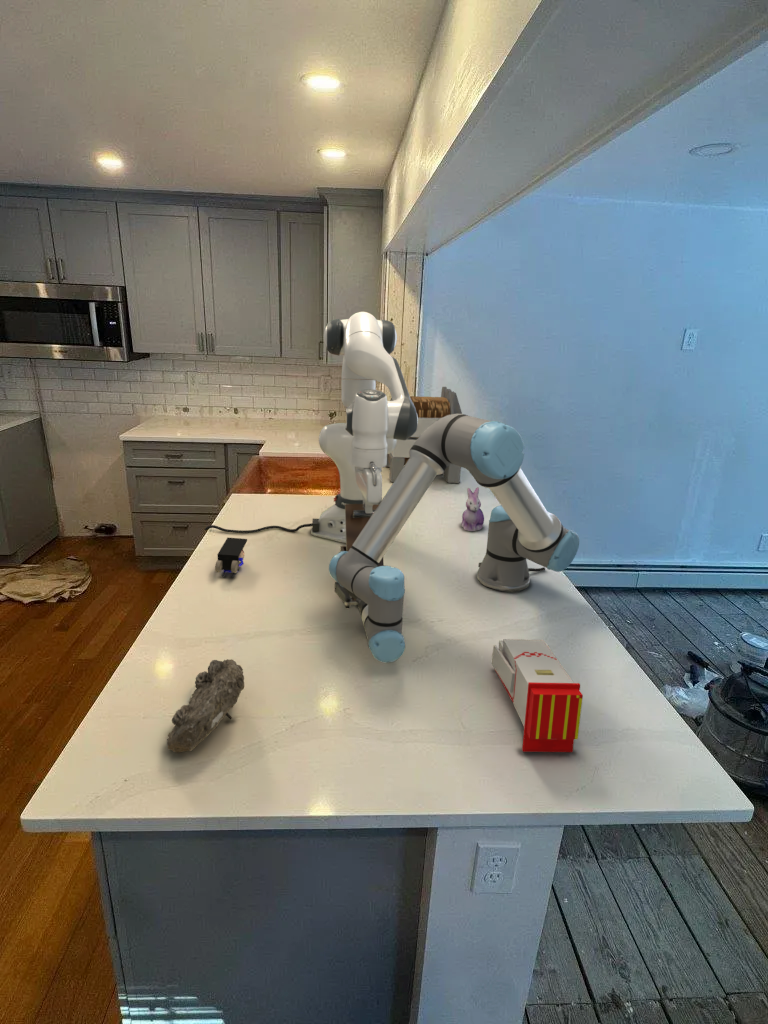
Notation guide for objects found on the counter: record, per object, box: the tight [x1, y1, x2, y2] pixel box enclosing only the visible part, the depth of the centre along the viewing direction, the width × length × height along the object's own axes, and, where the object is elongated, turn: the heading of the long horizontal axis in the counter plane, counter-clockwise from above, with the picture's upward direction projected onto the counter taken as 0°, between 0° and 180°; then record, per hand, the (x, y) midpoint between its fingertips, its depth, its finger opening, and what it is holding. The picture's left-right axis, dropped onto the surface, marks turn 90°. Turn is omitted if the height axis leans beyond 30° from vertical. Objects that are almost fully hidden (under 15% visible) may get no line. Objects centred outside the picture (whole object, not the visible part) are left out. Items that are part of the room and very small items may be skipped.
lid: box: [345, 504, 385, 567], centre depth 147 cm, size 17×10×9 cm
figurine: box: [461, 486, 485, 532], centre depth 206 cm, size 9×10×15 cm
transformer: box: [385, 386, 463, 484], centre depth 268 cm, size 34×33×41 cm
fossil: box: [166, 658, 245, 754], centre depth 106 cm, size 22×10×15 cm
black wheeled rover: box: [214, 537, 248, 578], centre depth 166 cm, size 7×8×15 cm
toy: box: [491, 638, 584, 753], centre depth 114 cm, size 12×13×30 cm
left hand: (367, 510), depth 144 cm, fingers closed, pressing on lid
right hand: (363, 572), depth 154 cm, fingers closed on chest, 10 cm apart
